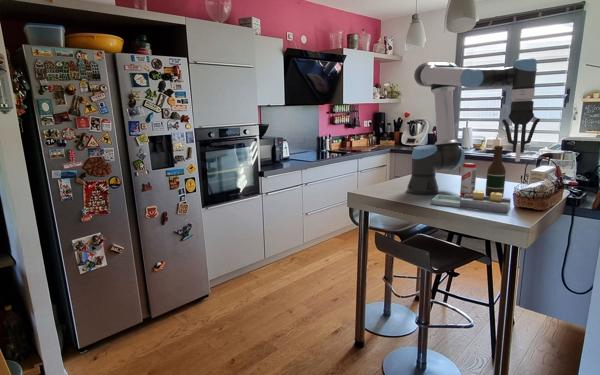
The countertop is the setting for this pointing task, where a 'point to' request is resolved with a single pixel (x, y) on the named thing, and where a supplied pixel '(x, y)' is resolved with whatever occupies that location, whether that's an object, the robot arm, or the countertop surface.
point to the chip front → (496, 197)
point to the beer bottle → (496, 173)
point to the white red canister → (468, 178)
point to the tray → (446, 200)
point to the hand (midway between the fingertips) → (517, 161)
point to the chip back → (478, 195)
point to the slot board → (485, 204)
